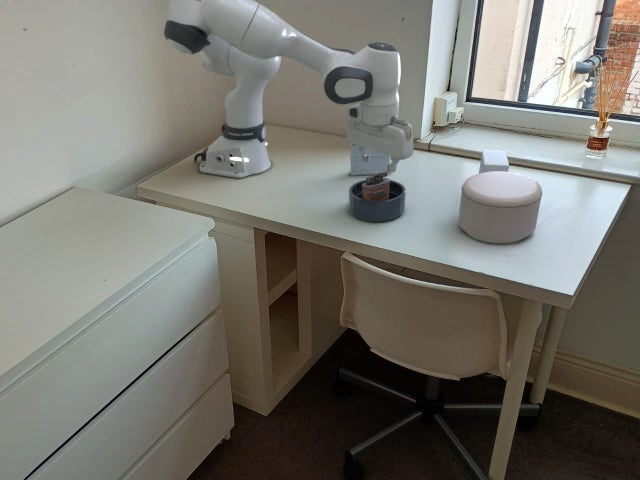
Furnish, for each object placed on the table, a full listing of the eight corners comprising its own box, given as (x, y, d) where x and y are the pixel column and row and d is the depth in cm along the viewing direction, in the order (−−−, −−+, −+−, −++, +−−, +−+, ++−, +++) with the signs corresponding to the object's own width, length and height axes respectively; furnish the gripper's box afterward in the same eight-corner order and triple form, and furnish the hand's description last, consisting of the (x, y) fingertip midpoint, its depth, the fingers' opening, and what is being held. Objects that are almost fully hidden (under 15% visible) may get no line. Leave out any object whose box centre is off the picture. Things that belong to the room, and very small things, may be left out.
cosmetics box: (504, 202, 176) (509, 164, 170) (478, 201, 177) (483, 164, 171) (501, 185, 184) (506, 149, 178) (476, 185, 186) (480, 149, 180)
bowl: (344, 220, 175) (344, 199, 171) (354, 197, 186) (354, 177, 182) (400, 225, 170) (401, 203, 167) (407, 200, 181) (408, 180, 178)
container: (462, 209, 175) (467, 166, 168) (536, 216, 168) (544, 172, 162) (452, 241, 161) (457, 197, 155) (533, 250, 155) (541, 204, 148)
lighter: (365, 214, 175) (366, 179, 170) (358, 209, 178) (359, 174, 172) (391, 207, 177) (393, 171, 172) (384, 202, 180) (386, 167, 175)
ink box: (389, 171, 199) (390, 133, 192) (389, 174, 197) (391, 136, 190) (349, 172, 200) (350, 135, 194) (350, 175, 198) (350, 138, 192)
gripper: (421, 119, 157) (417, 174, 165) (360, 101, 172) (359, 152, 180) (402, 126, 155) (399, 181, 162) (342, 107, 169) (342, 159, 177)
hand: (378, 166), depth 171 cm, fingers open, 8 cm apart
